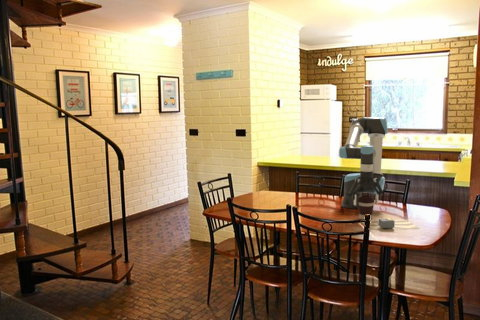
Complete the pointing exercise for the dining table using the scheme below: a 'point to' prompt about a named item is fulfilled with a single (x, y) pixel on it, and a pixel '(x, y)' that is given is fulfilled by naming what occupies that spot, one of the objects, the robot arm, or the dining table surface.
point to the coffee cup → (365, 206)
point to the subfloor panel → (397, 225)
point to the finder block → (386, 223)
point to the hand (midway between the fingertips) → (365, 204)
